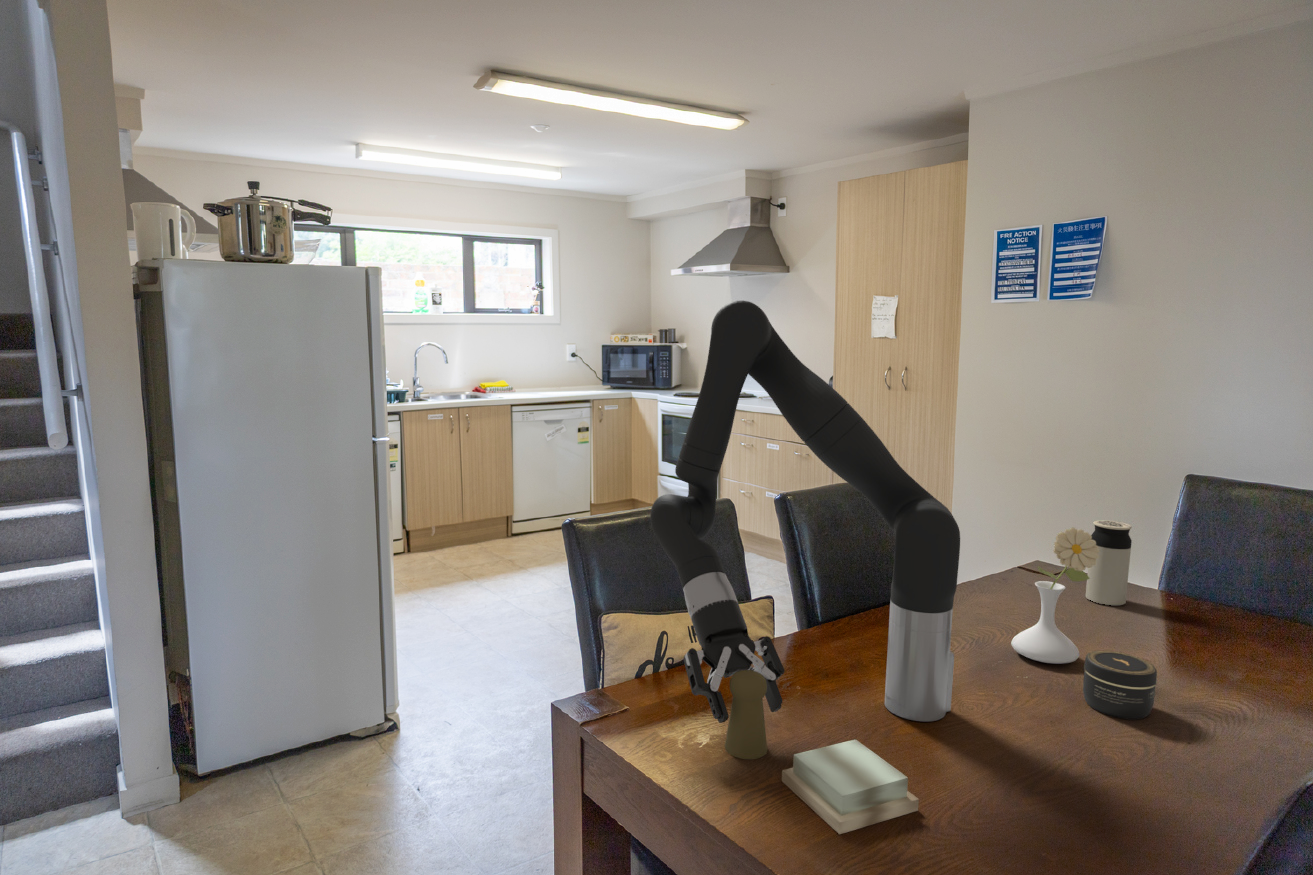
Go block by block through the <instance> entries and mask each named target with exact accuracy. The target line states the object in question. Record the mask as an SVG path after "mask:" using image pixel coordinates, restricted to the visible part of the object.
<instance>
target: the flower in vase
mask: <svg viewBox="0 0 1313 875" xmlns="http://www.w3.org/2000/svg"><path fill="white" fill-rule="evenodd" d="M1091 535H1092V534H1090V533H1089V532H1088V531H1084V529H1083V528H1079V529H1078V528H1076V527H1070V529H1069V528H1067V529H1065V530H1064V532H1063V531H1061V532H1059V533H1057V536H1056V537H1055V540H1056V541H1054V544H1053V545H1054V546H1053V547H1054V548H1053V550H1052V551H1053V553H1054V554H1055V555H1056V558H1057V559H1058V560H1059V563H1060V564H1061V565H1062V566H1063V565H1064V566H1065V567H1064V568H1063V569H1062V571H1061V572H1060V573H1059V575H1058V576H1056V575H1055V574H1054V573H1052V572H1049V571H1046V570H1044V569H1043V568H1042V567H1040V565H1038V566H1037V568H1038V571H1039V572H1040V573H1042V574H1044V575H1046V576H1049V577H1051V578H1052V579H1054V581H1047V580H1045V581H1044V580H1042V581H1041V580H1039V581H1035V582H1034V585H1035V586H1036V588H1037V590H1038V592H1039V595H1040V596H1039V597H1040V602H1041V604H1040V606H1041V609H1040V617H1039V620H1038V622H1037V623H1036V624H1034V625H1033V626H1031V627H1029V628H1027V629H1024V630H1022V631H1020V632H1019V633H1018V634H1016V635H1015V636H1014V637H1013V638H1012V640H1011V643H1010V645H1011V647H1012V648H1013V650H1014V651H1015V652H1017V653H1018V654H1019V655H1022V656H1024V657H1026V658H1027V659H1030V660H1033V661H1037V662H1040V663H1046V664H1056V665H1057V664H1058V665H1059V664H1069V663H1073V662H1075V661H1077V659H1078V658H1079V657H1080V652H1079V649H1078V647H1077V646H1076V645H1075V644H1074V642H1073V641H1072V640H1071V639H1070V638H1068V636H1066V635H1065V634H1064V633H1063V632H1062V630H1060V629H1059V628H1058V627H1057V625H1056V622H1055V611H1056V606H1057V602H1058V599H1059V597H1060V595H1061V594H1062V592H1064V590H1066V586H1065V585H1064V584H1061V583H1057V582H1058V581H1059V580H1060V578H1061V577H1062V576H1063V575H1064V574H1065V575H1066V576H1067V577H1068V578H1069V580H1071V581H1072V582H1083V581H1087V580H1088V579H1090V578H1089V577H1088V575H1087V574H1088V573H1086V572H1085V570H1086V568H1087V569H1088V568H1091V567H1092V565H1096V564H1097V563H1096V559H1098V558H1099V555H1098V554H1097V553H1099V547H1098V546H1097V545H1096V541H1095V540H1092V536H1091ZM1067 568H1068V569H1067Z"/></svg>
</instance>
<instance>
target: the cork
mask: <svg viewBox="0 0 1313 875" xmlns="http://www.w3.org/2000/svg"><path fill="white" fill-rule="evenodd" d="M729 690H730V694H731V695H732V702H731V707H730V711H729V712H730V713H729V718H728V724H727V729H726V737H725V740H724V750H725V752H727V754H729V755H730V756H732V757H735V758H737V759H743V760H757V759H761V758H762V757H764V756H765V755H766V754H767V753H768V740H767V733H766V720H765V713H764V712H765V711H764V700H763V698H764V697H766V696H765V694H766V691H767V683H766V679H765V678H764V676H763V675H762V674H760V673H758V672H756V671H752V670H741V671H738V672H736V673H734V674H733V675H732V676H730V680H729Z"/></svg>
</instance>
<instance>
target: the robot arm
mask: <svg viewBox="0 0 1313 875" xmlns="http://www.w3.org/2000/svg"><path fill="white" fill-rule="evenodd" d="M710 327H711V328H710V339H709V340H710V341H709V347H708V348H709V349H708V353H707V360H706V365H705V370H704V375H703V380H702V384H701V387H700V392H699V395H698V398H697V400H696V404H695V406H694V410H693V411H692V412H693V413H692V415H691V419H690V421H689V424H688V427H687V430H686V432H685V436H684V439H683V442H682V445H681V448H680V450H679V451H680V452H679V454H678V457H677V462H676V465H675V469H674V470H675V471H674V473H675V475H676V477H677V478H678V479H679V480H681V481H683V482H684V483H687V484H688V487H687V488H688V493H687V496H684V495H679V494H670V493H669V494H668V493H667V494H663V495H660V496H659V497H658V498H656V499H655V501H654V502H653V504H652V507H651V509H650V513H649V514H650V516H649V517H650V526H651V529H652V531H653V534H654V536H655V538H656V540H657V541H658V543H659V544H660V546H661V547H662V549H663V551H664V552H665V553H666V555H667V557H668V558H669V560H670V561H671V563H672V564H673V565H674V566H675V570H676V572H677V575H678V578H679V579H678V580H679V581H680V584H681V588H682V590H683V591H682V592H683V594H684V600H685V605H686V608H687V612H688V615H689V617H690V620H691V623H692V626H693V629H694V632H695V636H696V638H697V642H698V644H699V645H700V646H701V647H700V648H701V650H696V649H695V648H693V647H691V648H689V649H688V651H687V652H686V653H685V654H684V656H683V659H682V660H683V663H684V666H685V671H686V675H687V679H688V682H689V686H690V690H691V691H690V692H691V693H692V695H693V696H699V695H700V696H705V697H706V699H707V701H708V704H709V707H710V710H711V714H712V717H713V718H714V719H715V720H717V721H718V723H719V724H723V723H725V722H727V721H728V720H729V718H730V714H729V713H728V708H727V707H726V702H725V700H724V697H723V694H722V692H721V691H719V689H720V688H719V687H720V685H721V682H722V679H723V677H724V679H725V678H731V677H732V676H733V674H734V673H736V672H738V671H741V670H752V671H756V672H758V673H760V674H762V675H763V676H764V678H765V679H766V683H767V691H766V694H765V696H764V697H765V699H766V701H767V704H768V707H769V709H770V712H771V713H776V712H778V711H779V710H781V708H782V704H783V697H782V695H781V693H780V690H779V687H778V684H777V681H778V680H779V678H780V677H781V676H783V675H784V674H785V672H786V671H785V668H784V665H783V663H782V661H781V658H780V657H779V654H778V652H777V649H776V648H775V645H774V643H773V641H772V639H771V637H770V636H767V635H766V636H764V637H763V638H762V639H760V640H755V641H753V639H752V638H751V637H750V635H749V632H748V631H749V630H748V626H747V622H746V621H745V618H744V615H743V612H742V610H741V607H740V605H739V601H738V599H737V596H736V593H735V591H734V589H733V588H734V587H733V586H732V584H731V583H730V581H729V579H728V576H727V574H726V572H725V569H724V566H723V563H722V560H721V558H720V556H719V555H720V554H719V553H718V551H717V549H716V547H714V546H713V545H712V544H710V543H708V542H707V541H704V540H702V539H704V538H705V537H706V536H707V535H708V534H709V533H710V531H711V530H712V528H713V525H714V522H715V520H716V509H717V493H718V492H717V491H718V489H717V488H718V477H719V474H720V471H721V468H722V465H723V463H724V459H725V455H726V453H727V449H728V445H729V442H730V438H731V435H732V431H733V425H734V422H735V416H736V411H737V407H738V405H739V400H740V396H741V394H742V390H743V387H744V384H745V382H746V379H747V377H748V375H749V376H750V377H751V378H752V379H753V380H754V381H755V382H756V383H757V384H758V385H760V386H761V388H762V389H763V390H764V391H765V392H766V393H767V394H768V396H769V397H770V398H771V400H772V401H773V403H774V405H775V406H776V407H777V409H778V410H779V411H780V413H781V415H782V417H783V418H784V419H785V420H786V422H787V423H788V424H789V426H790V427H791V429H792V430H793V431H794V432H795V434H796V435H797V436H798V437H799V438H800V440H801V441H802V442H803V443H804V444H805V445H806V446H807V447H808V448H809V450H811V451H812V453H813V454H814V455H815V456H816V457H817V458H818V459H819V460H820V461H821V462H822V463H824V465H825V466H826V467H827V468H829V469H830V470H831V471H832V472H833V473H834V474H836V475H838V477H840V478H841V479H842V480H843V481H845V482H846V483H848V484H849V485H850V486H852V487H853V488H855V489H856V491H858V492H860V494H862V495H863V497H865V498H866V499H867V500H868V501H869V502H870V504H871V505H872V506H873V507H874V508H875V509H876V510H877V512H878V513H879V514H880V515H881V517H882V518H883V520H884V521H885V522H886V523H887V525H888V526H889V528H890V529H891V530H892V532H893V534H894V555H893V570H892V572H893V573H892V580H891V585H890V601H889V602H890V603H889V619H888V636H887V654H886V655H887V656H886V672H885V687H884V688H885V691H884V706H885V708H886V709H887V710H888V711H889V712H890V713H892V714H894V715H895V716H897V717H900V718H902V719H906V720H911V721H915V722H934V721H939V720H941V719H943V718H944V717H945V716H946V713H947V712H950V711H951V707H952V695H953V694H952V692H953V679H954V668H955V666H954V664H955V653H954V652H953V651H951V640H952V626H953V623H952V622H953V613H954V612H953V610H954V609H953V608H954V598H955V594H956V592H957V586H958V576H959V574H958V573H959V564H960V555H961V554H960V550H961V531H960V527H959V525H958V523H957V520H956V519H955V517H954V516H953V514H952V512H951V511H950V510H949V509H948V507H947V506H946V505H945V504H943V503H942V502H941V501H939V500H938V499H937V498H936V497H934V496H933V495H932V494H931V493H930V492H929V491H928V490H926V489H925V488H924V487H923V486H921V484H919V483H918V482H917V481H916V480H915V479H914V478H913V477H912V476H911V475H910V474H908V473H907V472H906V471H905V470H904V468H902V467H901V465H900V464H899V463H898V461H896V459H895V458H894V457H893V455H892V453H891V452H890V451H889V450H888V448H887V446H886V445H885V444H884V443H883V441H882V440H881V439H880V437H879V436H878V435H877V434H876V432H875V431H874V430H873V429H872V427H870V425H869V423H867V421H866V420H865V419H864V418H863V417H862V416H861V415H860V414H859V413H858V411H856V410H855V409H854V407H853V406H852V405H851V404H850V403H849V402H848V401H847V400H846V399H845V398H844V397H843V396H842V395H841V394H840V393H839V392H838V391H836V390H835V389H834V388H833V387H832V386H831V385H830V384H829V383H828V382H826V381H825V380H824V379H822V377H820V376H819V375H817V374H816V373H815V371H812V369H810V368H809V367H808V366H806V365H805V364H804V363H803V362H802V361H801V360H800V359H798V357H797V356H796V355H795V354H794V353H793V352H792V350H791V349H790V348H789V346H788V345H787V343H786V342H785V341H784V340H783V338H781V336H780V335H779V333H778V332H777V331H776V329H775V328H774V326H772V323H771V322H770V320H769V318H768V316H767V314H766V313H765V312H764V311H763V309H762V308H761V307H760V306H758V305H757V304H755V303H754V302H752V301H749V300H734V301H731V302H729V303H727V304H725V305H724V306H722V307H721V308H720V309H719V310H718V311H717V312H716V314H715V315H714V318H713V320H712V322H711V326H710ZM755 652H757V655H758V656H761V658H762V659H761V658H759V657H758V656H757V655H755ZM703 662H705V664H707V665H708V666H709V667H710V671H709V674H708V677H707V682H706V681H705V677H704V675H703V674H704V673H703V670H702V667H701V665H702V663H703ZM752 665H753V666H752Z"/></svg>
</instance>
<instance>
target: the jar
mask: <svg viewBox="0 0 1313 875" xmlns="http://www.w3.org/2000/svg"><path fill="white" fill-rule="evenodd" d="M1083 671H1084V672H1083V680H1082V681H1083V682H1082V683H1083V685H1082V693H1083V698H1084V700H1085V703H1087V705H1088V706H1089V707H1090V708H1092V709H1093V710H1095V711H1097V712H1099V713H1101V714H1104V715H1107V716H1109V717H1113V718H1117V719H1122V720H1141V719H1144V718H1146V717H1148V716H1149V715H1150V714H1151V711H1152V709H1153V706H1154V701H1155V696H1156V695H1155V694H1156V686H1157V683H1158V680H1157V676H1158V672H1157V667H1155V665H1154V664H1152V663H1151V662H1150V661H1148V660H1146V659H1145V658H1141V657H1139V656H1136V655H1133V654H1129V653H1126V652H1121V651H1115V650H1105V649H1104V650H1093V651H1091V652H1088V653H1087V654H1086V655H1085V658H1084V665H1083Z"/></svg>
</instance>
